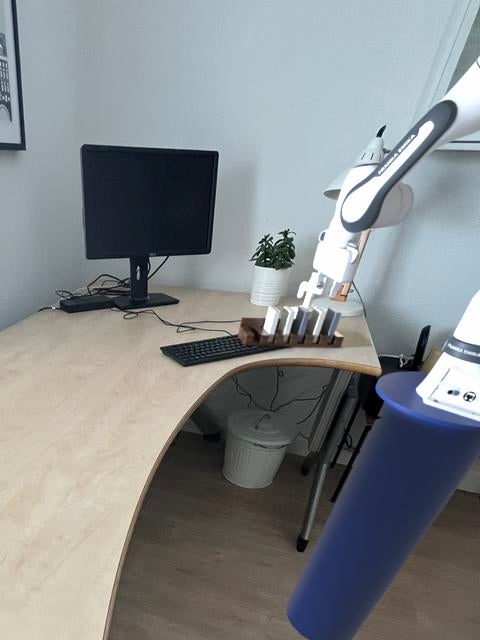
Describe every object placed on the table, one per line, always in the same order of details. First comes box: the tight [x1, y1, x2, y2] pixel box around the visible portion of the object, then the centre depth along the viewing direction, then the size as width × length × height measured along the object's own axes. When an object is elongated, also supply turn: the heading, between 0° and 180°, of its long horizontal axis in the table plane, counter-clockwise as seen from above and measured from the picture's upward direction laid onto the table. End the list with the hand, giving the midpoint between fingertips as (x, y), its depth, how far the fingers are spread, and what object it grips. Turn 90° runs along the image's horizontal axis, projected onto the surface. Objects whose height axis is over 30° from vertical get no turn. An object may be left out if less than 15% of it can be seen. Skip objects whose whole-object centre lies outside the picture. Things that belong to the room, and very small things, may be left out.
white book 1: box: [263, 305, 281, 342], centre depth 134 cm, size 6×2×9 cm, turn 0°
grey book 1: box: [292, 305, 311, 343], centre depth 134 cm, size 6×2×9 cm, turn 0°
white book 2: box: [278, 305, 296, 342], centre depth 134 cm, size 6×2×9 cm, turn 0°
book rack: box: [237, 317, 345, 349], centre depth 136 cm, size 9×30×6 cm, turn 90°
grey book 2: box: [321, 306, 342, 343], centre depth 135 cm, size 6×2×9 cm, turn 0°
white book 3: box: [306, 306, 327, 343], centre depth 134 cm, size 6×2×9 cm, turn 0°
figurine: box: [290, 271, 330, 319], centre depth 153 cm, size 7×9×15 cm
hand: (324, 292), depth 129 cm, fingers open, 8 cm apart
